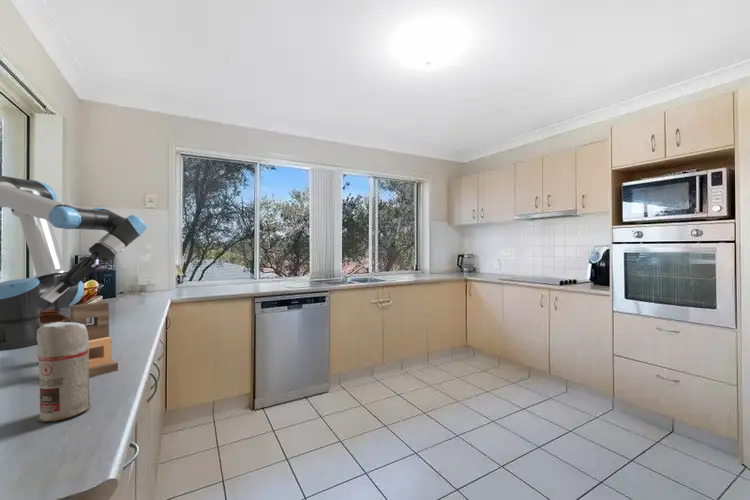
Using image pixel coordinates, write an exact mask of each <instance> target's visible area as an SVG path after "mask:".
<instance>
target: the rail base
mask: <svg viewBox="0 0 750 500" xmlns="http://www.w3.org/2000/svg"><path fill="white" fill-rule="evenodd" d="M109 304H110V303H109V302H107V301H100V302H91V303H81V304H74V305H71V306H69V308H70V318H66V319H62V320H61V322H75V323H80V324H84V325H85V327H86V329H87V332H88V338H89V340H94V339H99V338H104V337H110V319H109V318H110V315H109V313H110V312H109V311H110V310H109V309H110V307H109ZM86 318H92V319H93V323H90V324H86ZM98 356H101V346H100V347H96V348H91V349H89V358H93V357H98ZM112 371H113V372H116V371H119V364H118V362H116V361H114V360H112V362H109V363H105V364H101V365H96V366H92V367H89V379H90V378H93V376H94V377H97V375H98V376H101V374H102V375H105V374H109V373H112ZM104 373H105V374H104Z"/></svg>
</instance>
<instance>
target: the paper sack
mask: <svg viewBox="0 0 750 500" xmlns="http://www.w3.org/2000/svg"><path fill="white" fill-rule="evenodd" d="M37 342H38V344H37V359H38V376H39V379H38V380H39V383H38V384H39V385H38V386H39V411H40V412H39V416H38V421H39V422H57V421H62V420H66V419H69V418H72V417H75V416H77V415H79V414H82V413H84V412H86V411H88V410H89V409H91V404H90V400H91V399H90V394H91V393H90V378H89V360H88V359H89V352H88V348H89V338H88V332H87V329H86V327H85V325H84V324H80V323H75V322H62V321H57V322H50V323H46V324H42V326H40V327H39V329H38V330H37Z"/></svg>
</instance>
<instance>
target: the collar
mask: <svg viewBox="0 0 750 500" xmlns="http://www.w3.org/2000/svg"><path fill="white" fill-rule="evenodd" d="M100 346H101V356H98V357H93V358H89V359H88V360H89V367H92V366H96V365H101V364H105V363H109V362H112V361H113V360H112V359H113V357H112V356H113V355H112V337H110V336H109V337H104V338H99V339H94V340H89V348H88V352H89V349H91V348H96V347H100Z"/></svg>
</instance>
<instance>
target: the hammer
mask: <svg viewBox="0 0 750 500" xmlns="http://www.w3.org/2000/svg"><path fill="white" fill-rule="evenodd" d="M68 278H69V275H66V274H65V275H54V288H56V287H57V286H58V285H59V284H60V283H62V280H67V279H68ZM63 283H64V282H63ZM64 284H65V283H64ZM54 312H57V315H60V316H63V317H65V318H66V319H70V306H69V289H68V290H67V291H65V292H64V293H63V294H62V295H61V296H60V297H58V298H57V299H56V300H55V309H54ZM90 324H93V317H92V318H86V325H90Z"/></svg>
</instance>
